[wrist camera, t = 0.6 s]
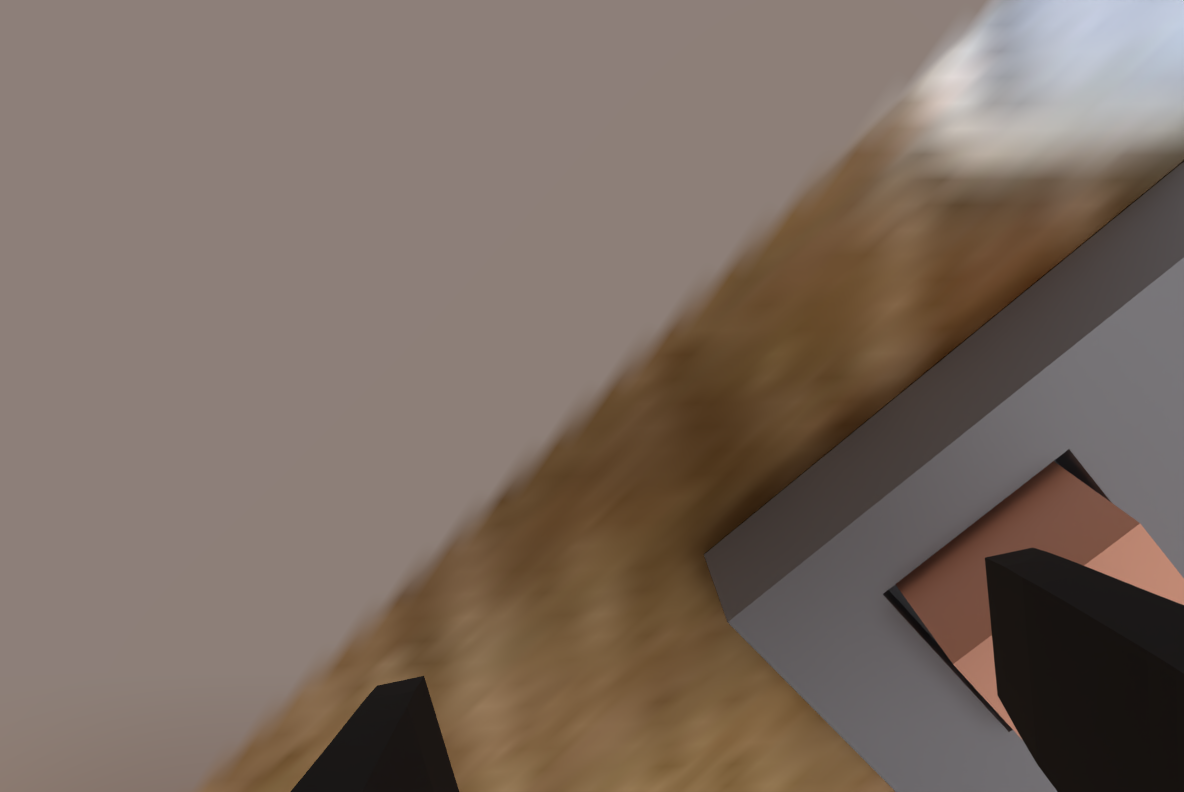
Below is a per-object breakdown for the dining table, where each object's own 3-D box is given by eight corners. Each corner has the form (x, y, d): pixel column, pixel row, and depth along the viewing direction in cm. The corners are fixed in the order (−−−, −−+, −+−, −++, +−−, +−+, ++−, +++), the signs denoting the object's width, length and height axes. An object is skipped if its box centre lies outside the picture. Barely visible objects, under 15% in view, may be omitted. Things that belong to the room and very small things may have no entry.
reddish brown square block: (1155, 588, 20) (1255, 668, 18) (1002, 701, 21) (1074, 796, 18) (1051, 460, 19) (1140, 523, 17) (894, 582, 20) (952, 664, 17)
